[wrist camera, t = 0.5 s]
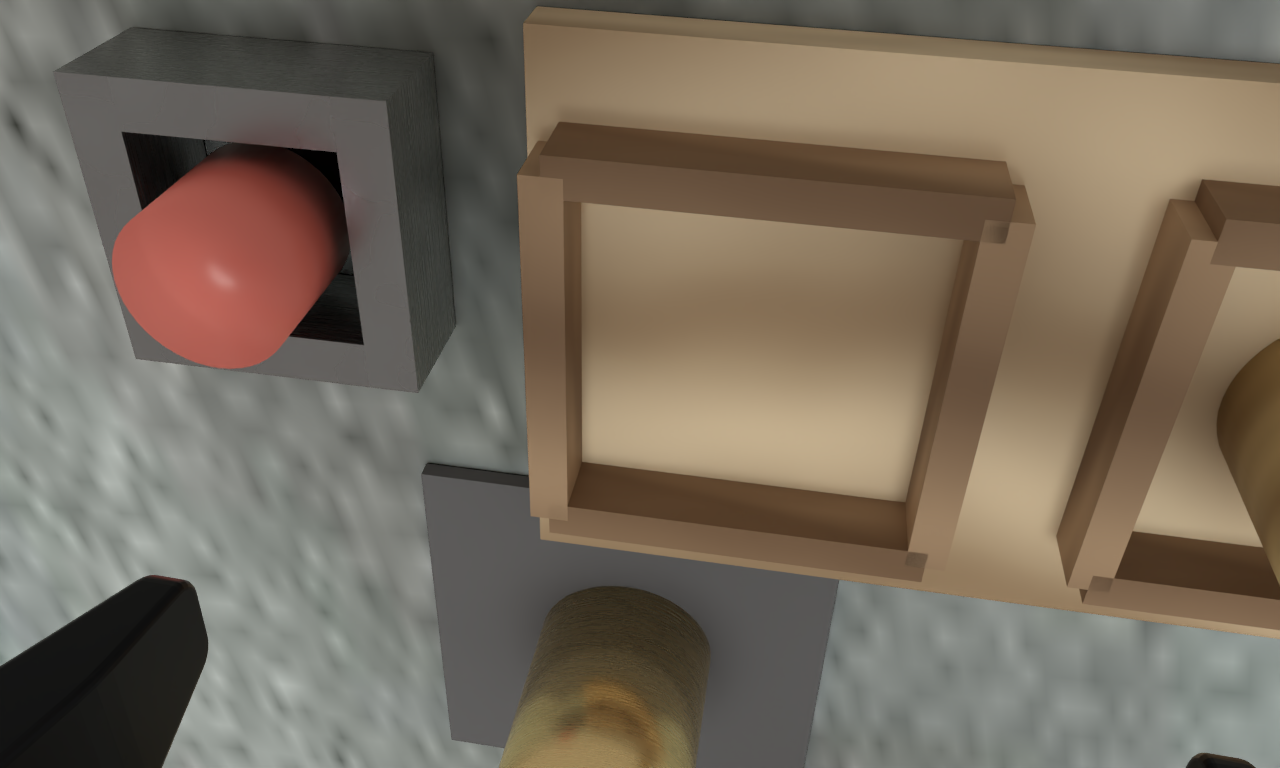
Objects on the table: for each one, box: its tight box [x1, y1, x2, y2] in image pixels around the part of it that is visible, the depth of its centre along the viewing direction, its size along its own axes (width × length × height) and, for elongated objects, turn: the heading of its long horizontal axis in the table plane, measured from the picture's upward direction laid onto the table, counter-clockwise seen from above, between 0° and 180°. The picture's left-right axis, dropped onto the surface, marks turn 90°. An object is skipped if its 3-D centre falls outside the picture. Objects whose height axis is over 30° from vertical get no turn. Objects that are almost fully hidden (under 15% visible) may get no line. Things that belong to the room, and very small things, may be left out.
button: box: [112, 142, 350, 369], centre depth 20 cm, size 3×3×3 cm
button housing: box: [54, 28, 456, 393], centre depth 21 cm, size 6×6×2 cm
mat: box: [421, 464, 839, 768], centre depth 28 cm, size 10×10×1 cm
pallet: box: [517, 6, 1280, 639], centre depth 19 cm, size 12×20×8 cm, turn 89°
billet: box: [499, 586, 711, 768], centre depth 25 cm, size 4×4×7 cm
